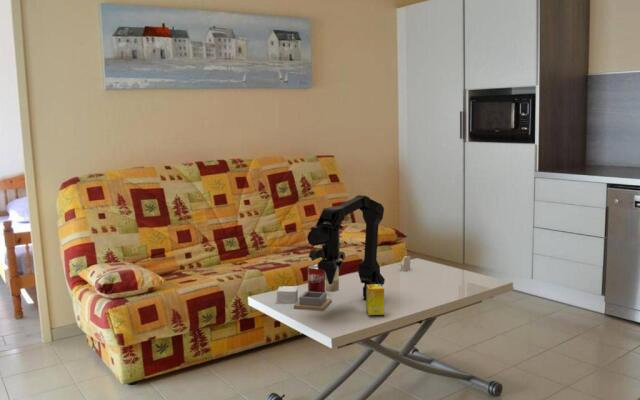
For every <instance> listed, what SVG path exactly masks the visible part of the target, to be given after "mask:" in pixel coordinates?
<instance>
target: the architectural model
mask: <svg viewBox="0 0 640 400" xmlns="http://www.w3.org/2000/svg"><path fill="white" fill-rule="evenodd" d="M398 266H400V272H401V271H403V272H404V271H405V272H408V271H410V270H411V255H408V256H407V255H404V256H403V258H402V260H401V261H400V263H398ZM407 270H408V271H407ZM403 272H402V273H403Z"/></svg>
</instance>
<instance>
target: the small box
mask: <svg viewBox="0 0 640 400" xmlns="http://www.w3.org/2000/svg"><path fill="white" fill-rule="evenodd" d="M298 293H299V291H298V286H297V285H296V286H290V285H289V286H288V285H287V286H285V285H283V286H281V285H280V286H279V287H278V288H277V291H276V301H277V302H276V303H277V304H296V303H297V302H298Z"/></svg>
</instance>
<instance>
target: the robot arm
mask: <svg viewBox="0 0 640 400" xmlns="http://www.w3.org/2000/svg"><path fill="white" fill-rule="evenodd" d="M357 210H360V211H361V212H362V218H363V221H364V223H365V242H364V254H363V255H364V257H363V258H364V259H363V261H361V263H359V264H358V272H357V274H358V277H359V279H360V283H361V284H364V286H363V287H362V297H363V298H362V299H363V300H365V301H366V285H369V284H381V285H382V286H383V285H385V283H386V280H385V277H384V276H383V275H382V273H381V268H380V265H379V262H378V259H377V257H378V256H377V255H378V240H379V225H380V224H381V222H382V220H383V218H384V213H385V208H384V205H382V203H379V202H377V201H376V200H374V199H372V198H370V197H369V196H367V195H361V194H357V195H355V197H353V198H351V199H349V200H346V201H345V202H344V203H341V204H339V205H337V206H329V207H325V208H324V209H322V211H321V214H320V216H319V218H318V220H317V222H316V225H315V226H312V227H311V230H309V232H308V233H307V237H306V238H307V241H308V243H309V245H311V246H312V247H316V246H317V247H318V246H321V245H322V246H321V247H319V248H317V249H315V248H314V249H311V250H310V251H309V253H308V254H309V255H308V258H309V259H310V260H311V262H313V261H315V260H318V259H320V261H319V262H317V265H318V269H323V270H324V271H325V277H326V276H327V279H328V283H329V284H332V282H333V279H334V276H335V273H336V270H337V267H336V266H338V267H339V271H340V270H341V267H342V264H343V263H344V260H346V253H345V252H344V251H341V250H340V247H341V246H342V245H341V243H340V230H342V229H344V227H343V226H342V225H341V223H342V222H344V221H345V219H346V217H347V216H349V215H350V214H352V213H354V212H355V211H357ZM340 259H341V260H340Z"/></svg>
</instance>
